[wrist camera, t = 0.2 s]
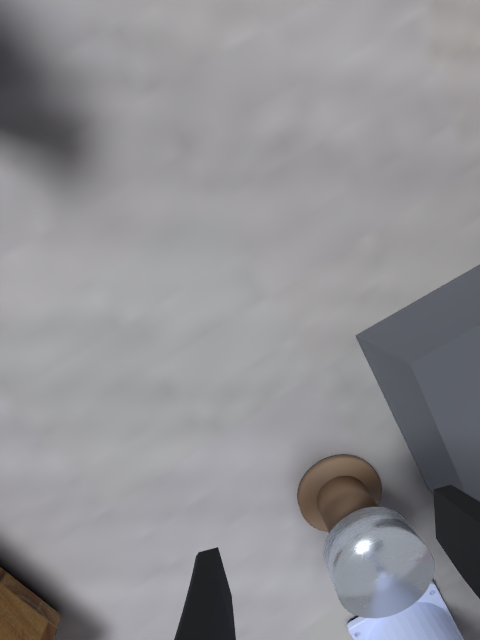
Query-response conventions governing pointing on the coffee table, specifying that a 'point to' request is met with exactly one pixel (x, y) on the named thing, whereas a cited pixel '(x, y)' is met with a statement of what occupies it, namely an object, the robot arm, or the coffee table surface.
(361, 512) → the silver disc
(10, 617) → the tray
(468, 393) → the player housing
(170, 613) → the coffee table surface
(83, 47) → the coffee table surface
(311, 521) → the walnut disc stand
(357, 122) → the coffee table surface
